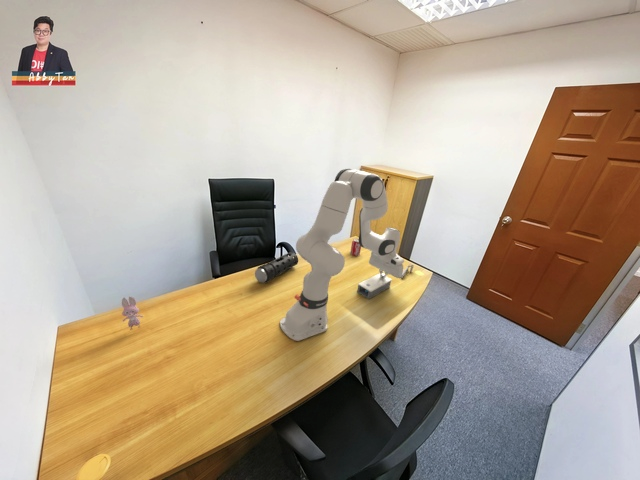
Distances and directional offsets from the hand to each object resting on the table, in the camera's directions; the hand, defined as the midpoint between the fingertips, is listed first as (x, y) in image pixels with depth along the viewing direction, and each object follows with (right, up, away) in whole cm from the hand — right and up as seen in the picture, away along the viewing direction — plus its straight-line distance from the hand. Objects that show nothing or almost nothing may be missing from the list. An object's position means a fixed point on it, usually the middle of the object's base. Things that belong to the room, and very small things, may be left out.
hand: (382, 277), depth 133 cm
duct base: (-6, -7, -2) cm, 9 cm away
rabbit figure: (-109, -13, -42) cm, 118 cm away
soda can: (-10, +10, +39) cm, 41 cm away
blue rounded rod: (-6, -6, -3) cm, 8 cm away
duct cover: (-5, -2, -4) cm, 7 cm away
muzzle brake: (-62, +1, +3) cm, 62 cm away
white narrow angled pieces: (+16, 0, +21) cm, 26 cm away
